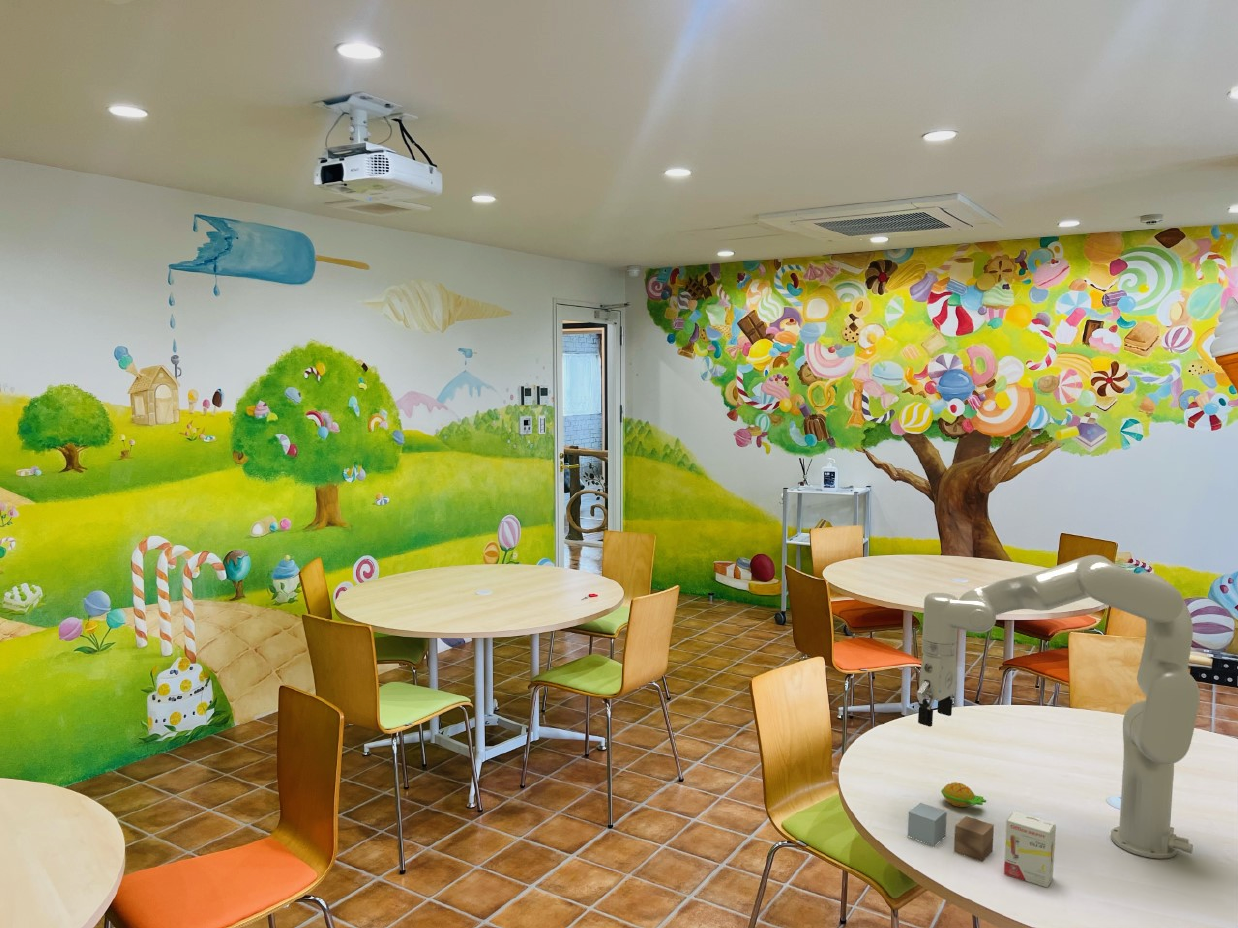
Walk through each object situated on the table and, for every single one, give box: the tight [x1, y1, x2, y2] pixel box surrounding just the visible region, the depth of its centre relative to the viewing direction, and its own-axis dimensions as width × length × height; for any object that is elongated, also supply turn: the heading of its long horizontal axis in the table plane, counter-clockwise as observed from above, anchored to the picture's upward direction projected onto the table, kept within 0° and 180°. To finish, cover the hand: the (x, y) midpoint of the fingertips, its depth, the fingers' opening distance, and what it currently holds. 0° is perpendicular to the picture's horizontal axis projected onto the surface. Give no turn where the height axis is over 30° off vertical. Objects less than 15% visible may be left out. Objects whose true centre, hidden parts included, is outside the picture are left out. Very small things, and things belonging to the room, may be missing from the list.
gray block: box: [907, 802, 947, 847], centre depth 198 cm, size 6×6×6 cm
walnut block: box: [953, 815, 995, 863], centre depth 192 cm, size 6×6×6 cm
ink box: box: [1003, 811, 1057, 888], centre depth 182 cm, size 9×5×12 cm, turn 52°
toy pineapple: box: [940, 781, 987, 808], centre depth 213 cm, size 7×10×5 cm
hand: (934, 719), depth 207 cm, fingers open, 9 cm apart
